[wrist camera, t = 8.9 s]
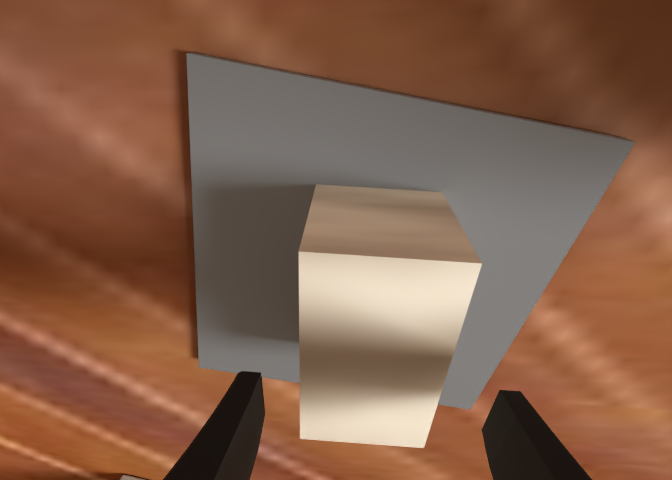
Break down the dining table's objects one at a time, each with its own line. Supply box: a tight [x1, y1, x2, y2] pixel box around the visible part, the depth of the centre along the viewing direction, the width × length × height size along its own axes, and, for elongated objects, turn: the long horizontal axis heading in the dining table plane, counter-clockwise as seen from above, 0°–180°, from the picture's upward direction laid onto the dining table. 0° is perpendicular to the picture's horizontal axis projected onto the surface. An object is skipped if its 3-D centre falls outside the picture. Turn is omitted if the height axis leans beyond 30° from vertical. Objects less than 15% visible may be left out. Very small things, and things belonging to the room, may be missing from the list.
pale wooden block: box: [299, 184, 482, 448], centre depth 14 cm, size 9×5×5 cm, turn 177°
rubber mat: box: [186, 52, 636, 409], centre depth 16 cm, size 16×16×1 cm
